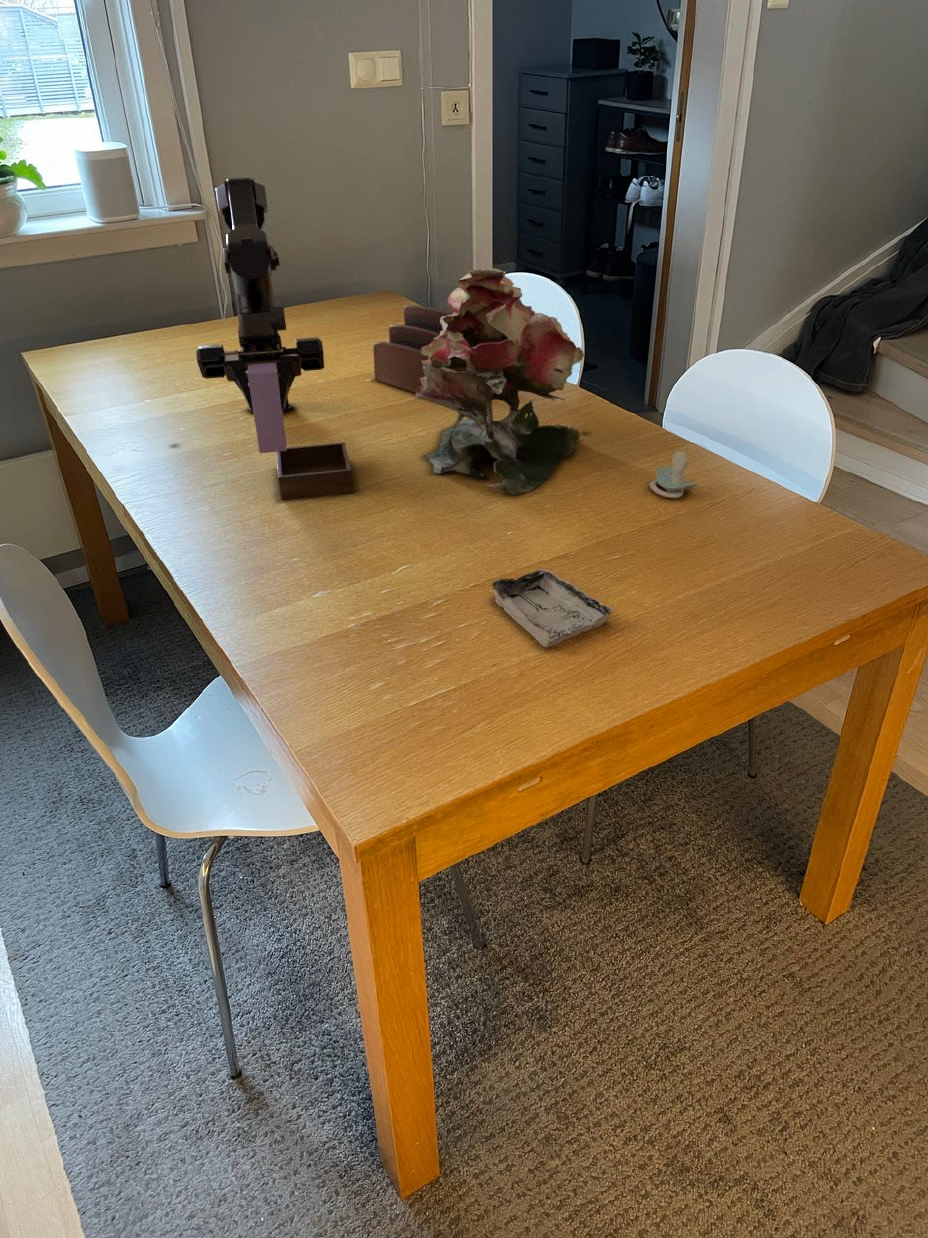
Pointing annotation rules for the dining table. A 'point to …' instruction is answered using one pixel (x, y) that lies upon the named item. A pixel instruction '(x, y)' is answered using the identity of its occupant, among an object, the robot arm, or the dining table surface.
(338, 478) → the tray
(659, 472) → the pacifier
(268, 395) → the block
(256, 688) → the dining table surface
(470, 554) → the dining table surface
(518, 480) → the rose bouquet
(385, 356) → the letter holder
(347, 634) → the dining table surface
